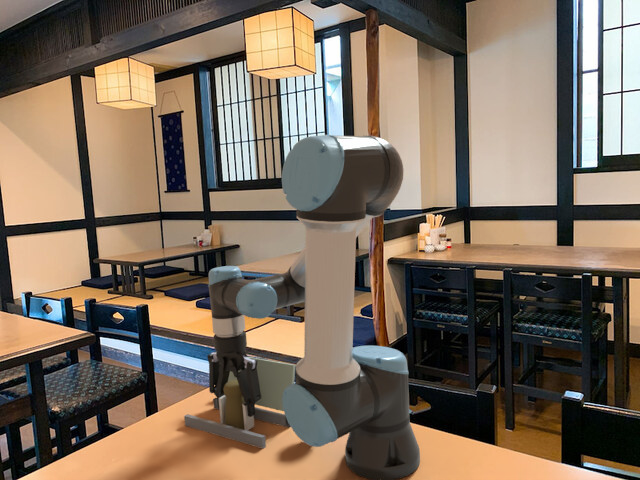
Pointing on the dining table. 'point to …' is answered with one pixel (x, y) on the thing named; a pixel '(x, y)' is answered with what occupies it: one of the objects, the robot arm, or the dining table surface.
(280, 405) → the lid
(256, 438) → the gray parallel rails
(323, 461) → the dining table surface
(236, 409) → the olive pepper mill
